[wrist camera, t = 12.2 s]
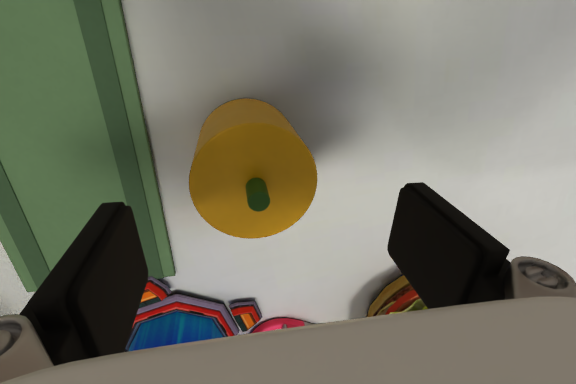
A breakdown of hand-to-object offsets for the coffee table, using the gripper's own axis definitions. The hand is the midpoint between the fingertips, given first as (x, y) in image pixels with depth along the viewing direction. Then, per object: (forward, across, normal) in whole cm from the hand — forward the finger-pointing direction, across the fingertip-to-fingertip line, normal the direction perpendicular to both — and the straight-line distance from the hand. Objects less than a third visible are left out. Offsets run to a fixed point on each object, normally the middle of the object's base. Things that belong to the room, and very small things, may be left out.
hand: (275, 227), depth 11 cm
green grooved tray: (+10, +11, 0) cm, 15 cm away
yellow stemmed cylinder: (+10, 0, +1) cm, 10 cm away
